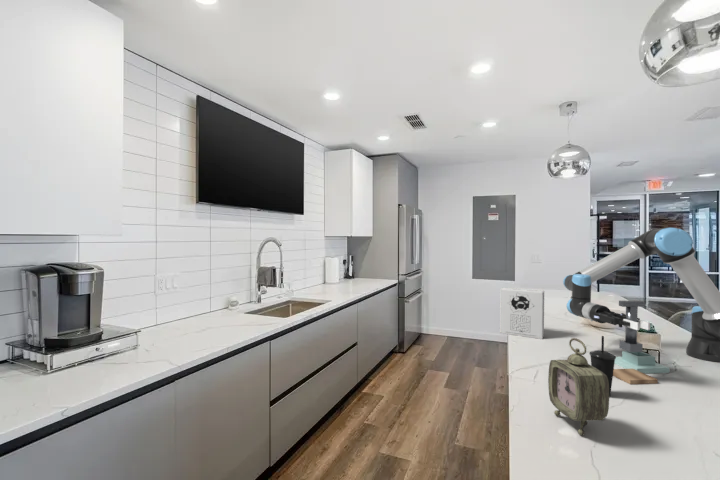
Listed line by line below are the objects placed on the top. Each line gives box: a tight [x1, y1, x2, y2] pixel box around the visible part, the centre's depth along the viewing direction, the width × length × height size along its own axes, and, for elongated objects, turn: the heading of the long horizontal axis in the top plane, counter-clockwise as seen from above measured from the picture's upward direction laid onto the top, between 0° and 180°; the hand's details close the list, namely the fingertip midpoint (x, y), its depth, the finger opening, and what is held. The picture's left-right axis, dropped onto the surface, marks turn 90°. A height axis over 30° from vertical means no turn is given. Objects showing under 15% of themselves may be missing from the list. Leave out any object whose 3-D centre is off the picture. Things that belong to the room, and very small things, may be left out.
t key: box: [618, 299, 646, 352], centre depth 139 cm, size 9×5×19 cm, turn 95°
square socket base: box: [614, 350, 670, 374], centre depth 151 cm, size 14×14×6 cm
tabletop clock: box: [547, 337, 610, 437], centre depth 104 cm, size 14×9×25 cm, turn 4°
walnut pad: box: [613, 368, 659, 385], centre depth 139 cm, size 11×11×2 cm
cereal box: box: [499, 287, 545, 340], centre depth 200 cm, size 22×8×25 cm, turn 58°
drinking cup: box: [589, 335, 617, 397], centre depth 125 cm, size 8×8×20 cm
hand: (643, 326), depth 133 cm, fingers closed on t key, 3 cm apart
